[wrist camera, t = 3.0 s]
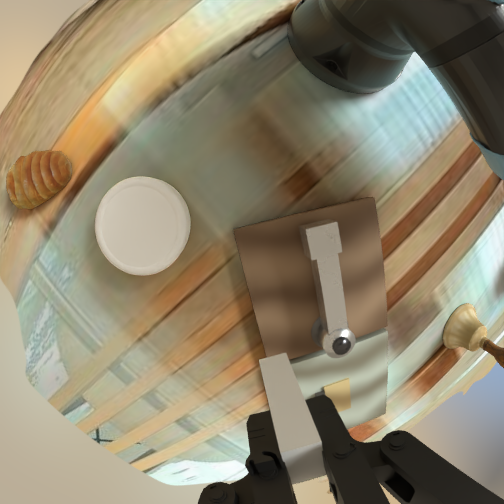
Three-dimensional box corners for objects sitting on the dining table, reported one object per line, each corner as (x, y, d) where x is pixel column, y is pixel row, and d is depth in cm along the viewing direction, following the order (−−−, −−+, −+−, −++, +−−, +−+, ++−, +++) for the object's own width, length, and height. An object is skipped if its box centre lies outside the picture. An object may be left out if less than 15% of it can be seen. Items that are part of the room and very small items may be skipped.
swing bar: (346, 339, 32) (358, 354, 29) (319, 349, 32) (328, 365, 28) (328, 218, 29) (342, 222, 25) (296, 226, 29) (305, 231, 25)
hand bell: (445, 356, 38) (502, 405, 22) (439, 323, 36) (507, 372, 21) (476, 328, 38) (534, 366, 22) (471, 293, 36) (540, 328, 20)
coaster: (93, 240, 29) (79, 246, 26) (130, 162, 28) (119, 158, 25) (165, 284, 31) (158, 294, 28) (208, 205, 30) (206, 207, 26)
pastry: (71, 138, 27) (55, 134, 23) (78, 193, 28) (62, 194, 24) (18, 163, 26) (0, 162, 22) (24, 213, 28) (7, 216, 24)
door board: (233, 229, 30) (234, 234, 27) (368, 197, 31) (384, 198, 27) (289, 440, 38) (294, 457, 34) (381, 408, 38) (391, 422, 35)
